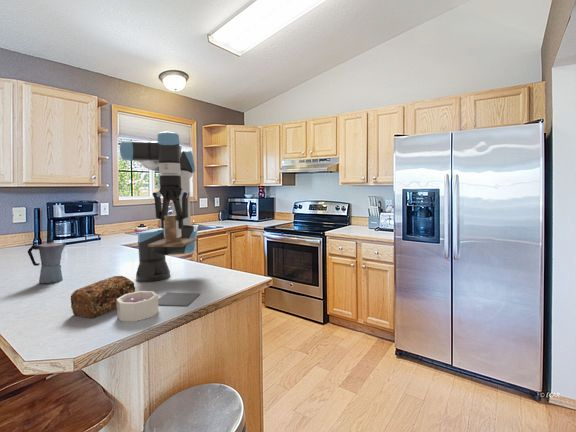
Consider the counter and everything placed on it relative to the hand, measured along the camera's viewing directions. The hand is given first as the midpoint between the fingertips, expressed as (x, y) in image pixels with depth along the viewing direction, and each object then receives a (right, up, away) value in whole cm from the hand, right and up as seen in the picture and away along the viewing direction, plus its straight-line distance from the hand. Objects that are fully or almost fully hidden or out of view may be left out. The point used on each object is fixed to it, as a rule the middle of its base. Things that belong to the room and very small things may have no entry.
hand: (173, 237), depth 121 cm
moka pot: (-67, -23, +28) cm, 76 cm away
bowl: (-8, -26, -11) cm, 29 cm away
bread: (-23, -26, -5) cm, 35 cm away
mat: (+1, -24, +2) cm, 24 cm away
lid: (0, -2, 0) cm, 2 cm away
